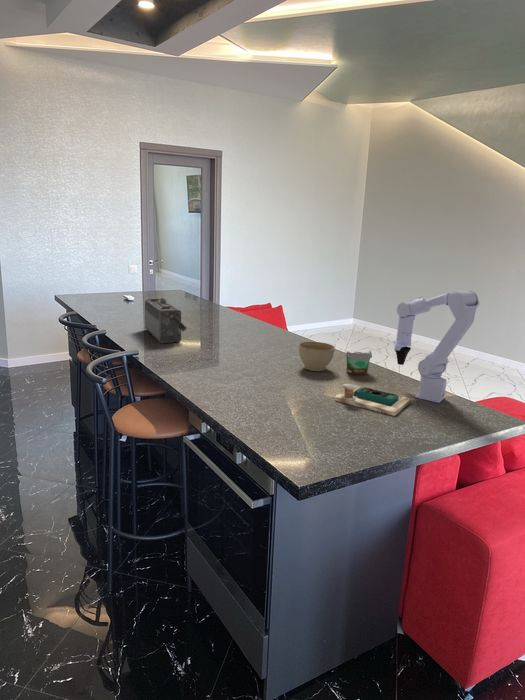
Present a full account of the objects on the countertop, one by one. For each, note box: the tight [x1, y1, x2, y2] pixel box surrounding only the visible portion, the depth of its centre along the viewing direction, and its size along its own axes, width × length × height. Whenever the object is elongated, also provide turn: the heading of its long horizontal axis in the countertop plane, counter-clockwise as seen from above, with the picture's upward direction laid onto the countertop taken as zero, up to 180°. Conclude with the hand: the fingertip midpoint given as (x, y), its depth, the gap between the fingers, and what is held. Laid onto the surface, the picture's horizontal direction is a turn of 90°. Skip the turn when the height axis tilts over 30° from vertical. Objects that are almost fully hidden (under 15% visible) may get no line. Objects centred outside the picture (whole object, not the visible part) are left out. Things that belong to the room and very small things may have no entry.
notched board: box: [334, 383, 412, 417], centre depth 180 cm, size 23×18×6 cm
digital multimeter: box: [356, 387, 400, 406], centre depth 184 cm, size 7×15×3 cm, turn 55°
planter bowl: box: [298, 341, 336, 372], centre depth 218 cm, size 16×16×11 cm
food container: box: [344, 350, 373, 377], centre depth 213 cm, size 12×6×10 cm, turn 105°
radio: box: [144, 297, 188, 344], centre depth 265 cm, size 38×14×20 cm, turn 26°
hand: (400, 364), depth 198 cm, fingers closed
